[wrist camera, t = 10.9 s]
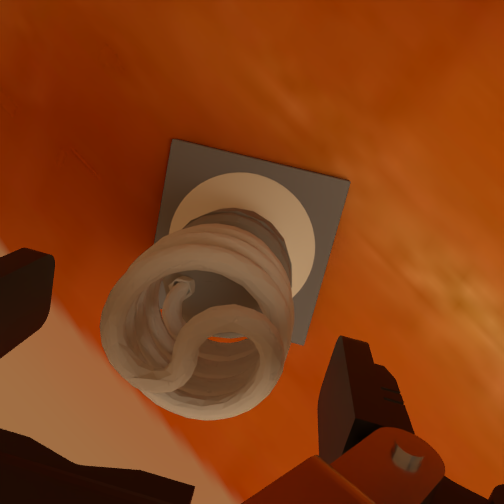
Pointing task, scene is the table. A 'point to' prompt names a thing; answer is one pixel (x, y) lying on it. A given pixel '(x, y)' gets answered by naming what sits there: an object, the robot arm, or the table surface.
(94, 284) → the table surface
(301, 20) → the table surface
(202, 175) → the pad
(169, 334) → the light bulb
